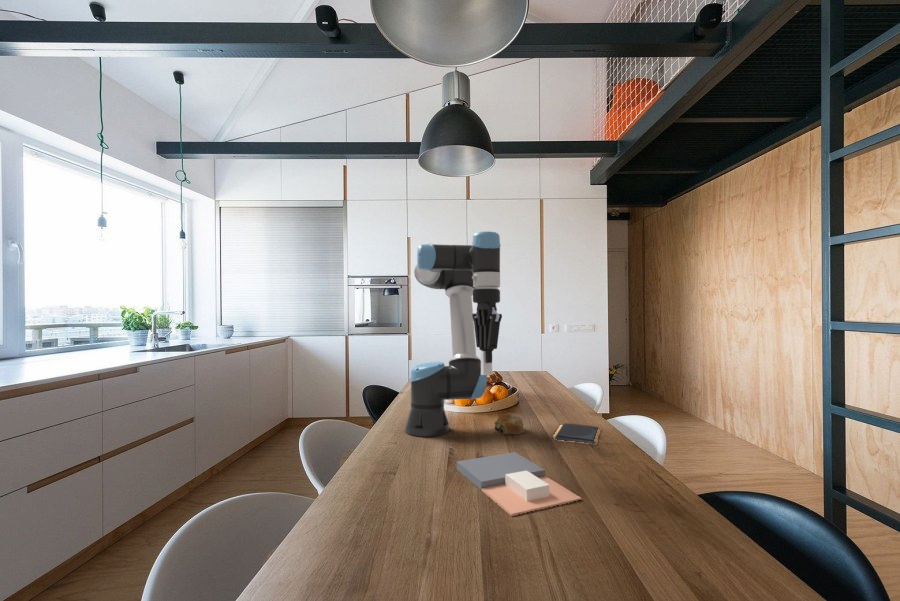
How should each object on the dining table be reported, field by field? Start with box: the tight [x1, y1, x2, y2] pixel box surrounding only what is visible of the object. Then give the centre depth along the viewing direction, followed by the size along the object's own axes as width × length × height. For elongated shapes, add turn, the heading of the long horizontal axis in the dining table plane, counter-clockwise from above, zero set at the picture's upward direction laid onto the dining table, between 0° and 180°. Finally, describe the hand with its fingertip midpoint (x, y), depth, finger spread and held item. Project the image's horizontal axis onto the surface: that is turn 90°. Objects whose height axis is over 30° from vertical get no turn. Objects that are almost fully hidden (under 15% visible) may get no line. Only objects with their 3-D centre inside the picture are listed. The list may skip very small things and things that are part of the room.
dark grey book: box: [550, 422, 601, 444], centre depth 140 cm, size 20×2×15 cm
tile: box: [505, 471, 550, 501], centre depth 95 cm, size 9×6×2 cm, turn 23°
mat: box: [481, 475, 582, 517], centre depth 93 cm, size 13×18×1 cm
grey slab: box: [456, 451, 546, 491], centre depth 106 cm, size 14×18×2 cm
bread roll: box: [494, 412, 526, 436], centre depth 143 cm, size 10×10×8 cm
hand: (486, 374), depth 113 cm, fingers closed
